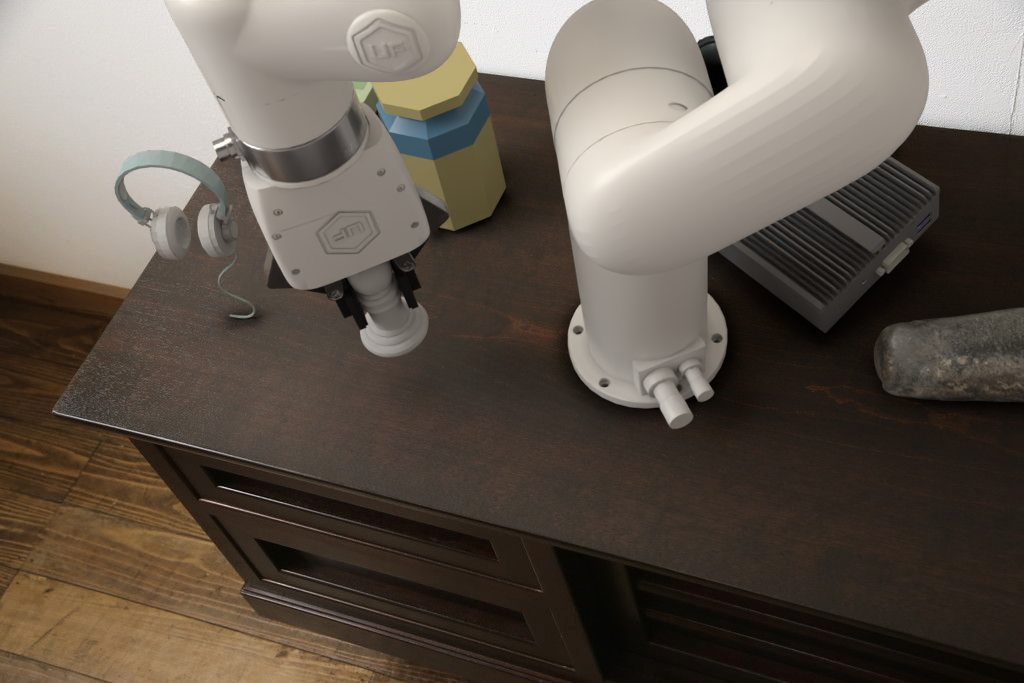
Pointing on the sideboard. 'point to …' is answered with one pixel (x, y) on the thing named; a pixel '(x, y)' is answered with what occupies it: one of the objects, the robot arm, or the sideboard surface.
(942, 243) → the sideboard surface
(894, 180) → the electronic device
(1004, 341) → the stone
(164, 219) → the headphones
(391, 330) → the chess piece
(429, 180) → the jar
